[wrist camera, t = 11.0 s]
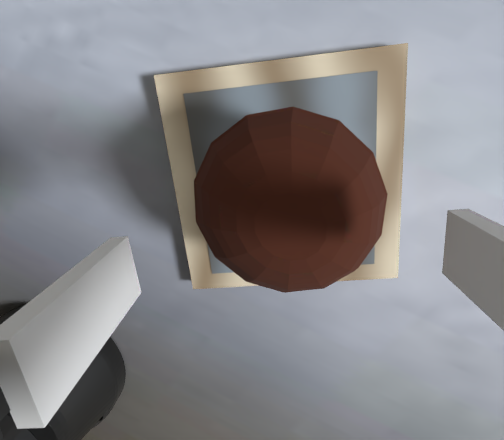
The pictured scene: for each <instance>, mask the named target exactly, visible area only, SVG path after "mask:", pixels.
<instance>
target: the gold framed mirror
mask: <svg viewBox="0 0 504 440" xmlns="http://www.w3.org/2000/svg"><path fill="white" fill-rule="evenodd" d="M407 52H408V43H405V44H397V45H389V46H381V47H373V48H365V49H357V50H349V51H341V52H333V53H326V54H318V55H310V56H302V57H294V58H286V59H278V60H270V61H262V62H254V63H246V64H238V65H231V66H223V67H215V68H207V69H199V70H191V71H183V72H175V73H167V74H159V75H154V79H155V85H156V90H157V95H158V101H159V106H160V112H161V117H162V123H163V128H164V133H165V139H166V144H167V150H168V155H169V161H170V166H171V171H172V177H173V182H174V188H175V193H176V199H177V204H178V209H179V215H180V220H181V226H182V231H183V237H184V242H185V247H186V253H187V258H188V264H189V269H190V275H191V280H192V285H193V289H205V288H223V287H241V286H259V285H256V284H253V283H249V282H246V281H245V280H243V279H242V278H241V277H239V276H238V275H237V274H236V273H234V272H233V271H232V270H231V269H229V268H228V267H227V266H225V265H224V264H223V263H222V262H220V261H219V260H218V259H217V258H215V257H214V255H213V253H212V251H211V249H210V247H209V245H208V244H207V242H206V240H205V238H204V236H203V234H202V233H201V231H200V229H199V227H198V225H197V223H196V217H195V197H194V179H195V177H196V175H197V173H198V171H199V168H200V166H201V164H202V162H203V159H204V157H205V155H206V153H207V151H208V148H209V146H210V144H211V142H212V141H214V140H215V139H216V138H218V137H219V136H220V135H221V134H223V133H224V132H225V131H227V130H228V129H229V128H230V127H232V126H233V125H234V124H236V123H237V122H238V121H239V120H241V119H242V118H243V117H245V116H246V115H249V114H255V113H260V112H266V111H271V110H277V109H282V108H287V107H296V108H300V109H303V110H307V111H310V112H313V113H317V114H320V115H323V116H327V117H330V118H334V119H337V120H339V121H341V122H342V123H343V124H344V125H345V126H346V127H347V128H348V129H349V130H350V131H351V132H352V133H353V134H354V135H355V136H356V137H357V138H359V139H360V140H361V141H362V142H363V143H364V144H365V145H366V146H367V147H368V148H369V149H370V150H371V151H372V152H373V153H374V156H375V159H376V162H377V165H378V168H379V171H380V174H381V176H382V179H383V182H384V185H385V188H386V191H387V194H388V195H387V202H386V208H385V215H384V222H383V229H382V235H381V237H380V238H379V240H378V241H377V242H376V244H375V245H374V247H373V248H372V250H371V251H370V252H369V254H368V255H367V257H366V258H365V259H364V261H363V262H362V264H361V265H360V266H359V268H358V269H356V270H355V271H354V272H352V273H350V274H349V275H347V276H345V277H343V278H341V279H340V280H338V281H349V280H367V279H385V278H398V264H399V240H400V217H401V193H402V170H403V146H404V122H405V99H406V75H407Z"/></svg>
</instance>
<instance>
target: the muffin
mask: <svg viewBox="0 0 504 440" xmlns="http://www.w3.org/2000/svg"><path fill="white" fill-rule="evenodd" d="M387 195H388V194H387V191H386V188H385V185H384V182H383V179H382V176H381V174H380V171H379V168H378V165H377V162H376V159H375V156H374V153H373V152H372V151H371V150H370V149H369V148H368V147H367V146H366V145H365V144H364V143H363V142H362V141H361V140H360V139H359V138H357V137H356V136H355V135H354V134H353V133H352V132H351V131H350V130H349V129H348V128H347V127H346V126H345V125H344V124H343V123H342V122H341V121H339V120H337V119H334V118H330V117H327V116H323V115H320V114H317V113H313V112H310V111H307V110H303V109H300V108H296V107H287V108H282V109H277V110H271V111H266V112H260V113H255V114H249V115H246V116H245V117H243V118H242V119H241V120H239V121H238V122H237V123H236V124H234V125H233V126H232V127H230V128H229V129H228V130H227V131H225V132H224V133H223V134H221V135H220V136H219V137H218V138H216V139H215V140H214V141H212V142H211V144H210V146H209V148H208V151H207V153H206V155H205V157H204V159H203V162H202V164H201V166H200V168H199V171H198V173H197V175H196V177H195V179H194V197H195V217H196V223H197V225H198V227H199V229H200V231H201V233H202V234H203V236H204V238H205V240H206V242H207V244H208V245H209V247H210V249H211V251H212V253H213V255H214V257H215V258H217V259H218V260H219V261H220V262H222V263H223V264H224V265H225V266H227V267H228V268H229V269H231V270H232V271H233V272H234V273H236V274H237V275H238V276H239V277H241V278H242V279H243V280H245V281H246V282H249V283H253V284H256V285H260V286H263V287H267V288H270V289H274V290H277V291H281V292H293V291H302V290H311V289H322V288H325V287H327V286H329V285H331V284H332V283H334V282H336V281H338V280H340V279H341V278H343V277H345V276H347V275H349V274H350V273H352V272H354V271H355V270H356V269H358V268H359V266H360V265H361V264H362V262H363V261H364V259H365V258H366V257H367V255H368V254H369V252H370V251H371V250H372V248H373V247H374V245H375V244H376V242H377V241H378V240H379V238H380V237H381V235H382V229H383V222H384V215H385V208H386V202H387Z"/></svg>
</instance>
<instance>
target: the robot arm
mask: <svg viewBox="0 0 504 440" xmlns="http://www.w3.org/2000/svg"><path fill="white" fill-rule="evenodd" d="M442 273H443V274H444V275H445V276H446V277H447V278H448V279H449V280H450V281H451V282H452V283H453V284H454V285H456V286H457V287H458V288H459V289H460V290H461V291H462V292H463V293H464V294H465V295H466V296H467V297H468V298H469V299H470V300H472V301H473V302H474V303H475V304H476V305H477V306H478V307H479V308H480V309H481V310H482V311H483V312H484V313H485V314H486V315H488V316H489V317H490V318H491V319H492V320H493V321H494V322H495V323H496V324H497V325H498V326H499V327H500V328H501V329H502V330H504V226H502V225H500V224H498V223H496V222H494V221H492V220H490V219H488V218H486V217H484V216H482V215H480V214H478V213H476V212H474V211H472V210H470V209H460V210H448V213H447V224H446V236H445V247H444V258H443V270H442ZM140 294H141V289H140V285H139V281H138V277H137V272H136V268H135V264H134V260H133V256H132V252H131V247H130V243H129V239H128V236H125V237H113V238H110V239H108V240H107V241H106V242H105V243H103V244H102V245H101V246H100V247H98V248H97V249H96V250H94V251H93V252H92V253H91V254H89V255H88V256H87V257H86V258H84V259H83V260H82V261H80V262H79V263H78V264H77V265H75V266H74V267H73V268H72V269H70V270H69V271H68V272H67V273H65V274H64V275H63V276H61V277H60V278H59V279H58V280H56V281H55V282H54V283H53V284H51V285H50V286H49V287H47V288H46V289H45V290H44V291H42V292H41V293H40V294H39V295H37V296H36V297H35V298H34V299H32V300H31V301H30V302H28V303H27V304H25V305H23V306H21V307H18V308H16V309H13V310H11V311H10V312H8V313H7V314H5V315H4V316H2V317H1V318H0V440H81V439H82V438H83V437H84V436H85V435H86V434H87V433H88V432H89V431H90V429H92V428H93V427H95V426H97V425H98V424H99V423H100V422H101V421H102V420H103V419H105V417H106V416H107V415H108V414H109V413H110V411H111V410H112V408H113V406H114V405H115V403H116V401H117V399H118V397H119V396H120V394H121V392H122V390H123V387H124V383H125V365H124V361H123V358H122V356H121V353H120V351H119V349H118V347H117V346H116V344H115V343H114V341H113V340H112V339H111V337H110V336H111V334H112V333H113V332H114V330H115V329H116V327H117V326H118V325H119V323H120V322H121V320H122V319H123V318H124V316H125V315H126V313H127V312H128V311H129V309H130V308H131V306H132V305H133V304H134V302H135V301H136V299H137V298H138V297H139V295H140Z"/></svg>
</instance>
